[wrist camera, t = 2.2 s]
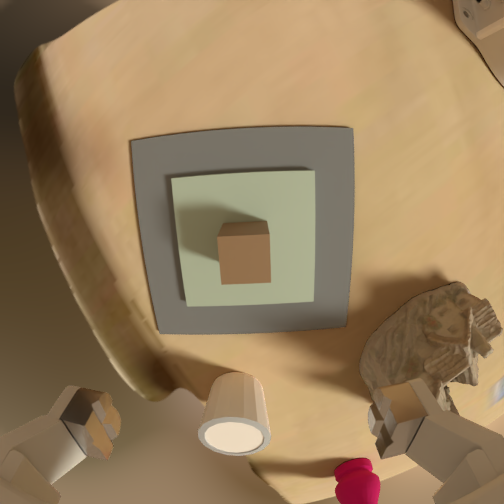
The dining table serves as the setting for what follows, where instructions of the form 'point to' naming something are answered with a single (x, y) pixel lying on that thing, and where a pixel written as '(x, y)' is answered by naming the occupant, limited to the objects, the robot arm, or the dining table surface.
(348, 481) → the pepper mill
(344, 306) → the mat
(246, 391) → the white cup
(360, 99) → the dining table surface
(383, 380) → the ceramic cottage
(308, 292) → the lid
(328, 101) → the dining table surface
